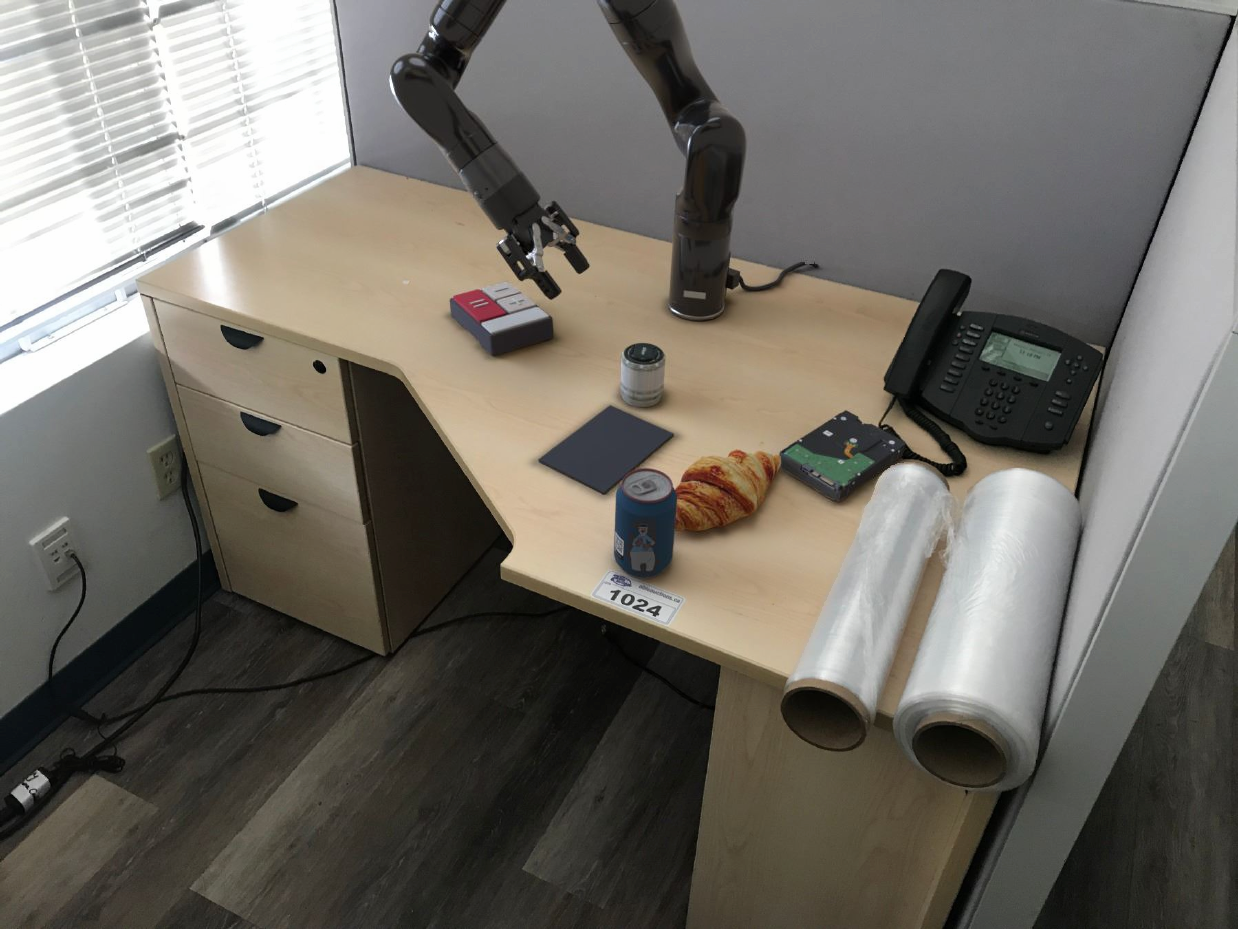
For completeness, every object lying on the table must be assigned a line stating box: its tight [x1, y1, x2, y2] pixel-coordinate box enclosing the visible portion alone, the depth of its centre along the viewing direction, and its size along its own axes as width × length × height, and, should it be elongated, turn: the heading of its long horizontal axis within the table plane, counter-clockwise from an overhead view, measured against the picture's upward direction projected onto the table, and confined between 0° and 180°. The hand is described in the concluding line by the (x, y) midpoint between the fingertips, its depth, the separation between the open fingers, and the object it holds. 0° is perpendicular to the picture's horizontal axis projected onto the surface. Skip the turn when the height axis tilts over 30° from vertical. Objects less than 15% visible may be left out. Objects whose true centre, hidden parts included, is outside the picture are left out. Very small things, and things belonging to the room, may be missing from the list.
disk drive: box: [778, 409, 907, 502], centre depth 132 cm, size 10×3×15 cm
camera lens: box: [619, 342, 667, 408], centre depth 142 cm, size 6×6×8 cm
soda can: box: [613, 467, 677, 579], centre depth 113 cm, size 7×7×12 cm
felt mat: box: [537, 404, 675, 495], centre depth 134 cm, size 16×11×1 cm
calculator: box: [449, 281, 555, 357], centre depth 157 cm, size 11×4×15 cm
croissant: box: [674, 449, 781, 532], centre depth 124 cm, size 21×10×8 cm, turn 133°
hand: (571, 283), depth 138 cm, fingers open, 8 cm apart
